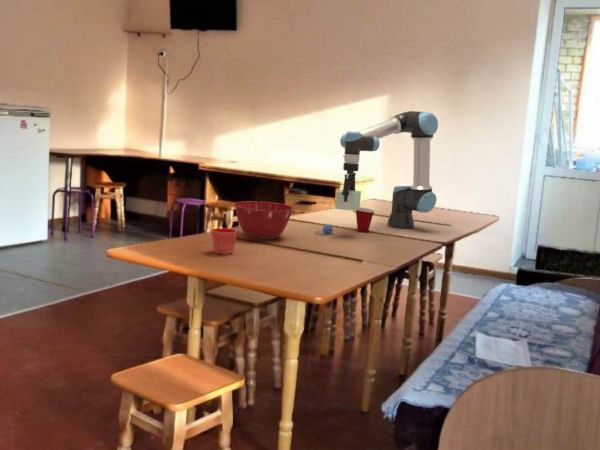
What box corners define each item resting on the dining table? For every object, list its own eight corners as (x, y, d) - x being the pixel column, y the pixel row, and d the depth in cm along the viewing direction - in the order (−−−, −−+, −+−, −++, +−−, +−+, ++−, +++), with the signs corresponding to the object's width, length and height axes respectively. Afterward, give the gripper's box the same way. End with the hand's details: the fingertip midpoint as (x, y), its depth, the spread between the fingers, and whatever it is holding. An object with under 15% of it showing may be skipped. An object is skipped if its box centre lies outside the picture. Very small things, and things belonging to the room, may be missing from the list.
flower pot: (211, 249, 296) (211, 227, 294) (236, 250, 297) (237, 228, 295) (209, 254, 286) (210, 231, 284) (236, 256, 287) (237, 233, 285)
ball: (322, 227, 353) (327, 235, 353) (320, 228, 348) (325, 236, 348) (329, 221, 352) (335, 229, 351) (327, 223, 347) (333, 231, 347)
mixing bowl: (299, 235, 340) (301, 205, 338) (278, 245, 314) (280, 212, 311) (247, 229, 349) (248, 199, 347) (222, 238, 323) (224, 205, 320)
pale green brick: (359, 208, 349) (361, 191, 347) (355, 210, 339) (356, 193, 337) (340, 206, 351) (341, 189, 350) (335, 208, 342) (336, 191, 340)
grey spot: (335, 233, 354) (335, 232, 354) (330, 236, 345) (330, 235, 345) (317, 230, 357) (317, 230, 357) (311, 233, 348) (311, 233, 348)
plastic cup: (372, 233, 360) (374, 211, 358) (351, 231, 362) (353, 209, 360) (374, 230, 370) (376, 208, 368) (354, 228, 372) (356, 206, 370)
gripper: (349, 160, 353) (345, 203, 357) (338, 163, 332) (335, 208, 335) (363, 162, 351) (359, 205, 355) (353, 164, 330) (350, 210, 333)
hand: (347, 206), depth 345 cm, fingers closed on pale green brick, 10 cm apart
